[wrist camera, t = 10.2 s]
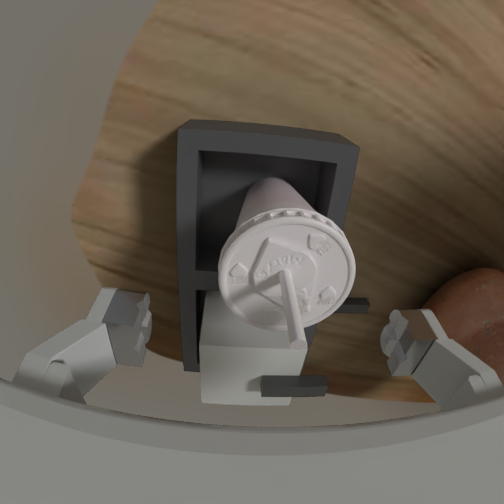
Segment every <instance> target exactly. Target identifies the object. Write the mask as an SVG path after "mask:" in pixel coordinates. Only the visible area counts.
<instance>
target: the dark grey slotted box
mask: <svg viewBox="0 0 504 504" xmlns="http://www.w3.org/2000/svg"><path fill="white" fill-rule="evenodd" d="M359 149H360V147H359V146H357V145H356V144H354V143H352V142H351V141H349V140H348V139H346V138H344V137H343V136H341V135H339V134H336V133H330V132H323V131H316V130H309V129H302V128H294V127H286V126H277V125H268V124H257V123H245V122H232V121H216V120H193V119H190V120H189V121H188V122H186V123H185V124H184V125H182V126H181V127H180V128H178V141H177V192H176V213H177V265H178V290H179V309H180V325H181V340H182V353H183V365H184V371H192V372H200V382H201V383H200V384H201V402H202V403H210V404H226V405H227V404H228V405H254V406H288V405H289V404H290V402H291V399H292V397H315V396H325V393H326V391H327V389H328V387H329V385H328V381H327V377H326V375H301V373H302V370H303V367H304V364H305V361H306V358H307V355H308V352H309V349H310V346H311V342H312V339H313V336H314V333H315V329H316V326H317V323H316V324H313V325H311V326H308V327H305V328H304V332H305V337H306V341H307V346H306V348H304V349H303V350H300V351H295V350H292V349H291V346H290V340H289V334H288V331H272V330H266V329H261V328H258V327H255V326H253V325H250V324H248V323H246V322H244V321H243V320H241V319H240V318H238V317H237V316H236V315H235V314H234V313H233V312H232V311H231V310H230V309H229V308H228V306H227V305H226V303H225V302H224V300H223V298H222V295H221V293H220V289H219V282H218V276H219V272H218V263H219V259H220V254H221V250H222V248H223V247H224V245H225V243H226V241H227V240H228V238H229V236H230V235H231V234H232V233H233V232H234V231H235V228H236V225H237V222H238V218H239V215H240V212H241V209H242V206H243V203H244V200H245V197H246V194H247V192H248V190H249V188H250V187H251V186H252V185H253V184H254V183H255V182H257V181H258V180H260V179H263V178H267V177H277V178H281V179H283V180H285V181H287V182H288V183H289V184H290V185H291V186H292V187H293V188H294V189H295V190H296V191H297V192H298V193H299V194H300V195H301V196H302V197H303V198H304V199H305V201H306V202H307V203H308V204H309V205H310V206H311V207H312V208H313V209H314V210H315V211H316V212H318V213H319V214H321V215H323V216H325V217H327V218H328V219H330V220H332V221H333V222H334V223H335V224H336V225H337V226H338V227H339V228H340V229H341V230H342V229H343V225H344V221H345V217H346V212H347V208H348V203H349V199H350V194H351V190H352V185H353V180H354V175H355V170H356V165H357V160H358V155H359ZM369 306H370V304H369V302H368V300H367V298H346V299H345V301H344V302H343V303H342V304H341V306H340V307H339V308H338V309H337V310H336V311H334V312H333V313H367V311H368V308H369Z"/></svg>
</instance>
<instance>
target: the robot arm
mask: <svg viewBox="0 0 504 504" xmlns="http://www.w3.org/2000/svg"><path fill="white" fill-rule="evenodd" d="M149 305H150V297H149V294H148V292H141V291H134V290H127V289H120V288H119V289H118V288H112V287H103V288H102V289H101V290H100V292H99V294H98V296H97V298H96V300H95V302H94V303H93V305H92V307H91V309H90V312H89V313H88V315H87V317H86V319H85V320H84V319H81V320H79V321H77V322H76V323H74V324H72V325H71V326H69V327H67V328H66V329H64V330H63V331H61V332H60V333H58V334H56V335H55V336H53V337H51V338H50V339H48V340H46V341H45V342H43V343H42V344H40V345H38V346H37V347H35V348H34V349H32V350H31V351H29V352H27V354H26V355H25V357H24V359H23V361H22V363H21V365H20V367H19V369H18V370H17V372H16V374H15V377H14V378H13V380H12V382H10V381H7V380H4V379H2V378H0V504H504V387H503V385H502V383H501V381H500V379H499V378H498V376H497V374H496V372H495V370H493V369H492V368H491V367H489V366H488V365H487V364H485V363H484V362H483V361H481V360H480V359H479V358H477V357H476V356H475V355H473V354H472V353H470V352H469V351H468V350H466V349H465V348H464V347H462V346H461V345H460V344H458V343H457V342H455V341H454V340H453V339H449V338H448V337H447V335H446V333H445V332H444V330H443V328H442V327H441V325H440V323H439V322H438V320H437V318H436V317H435V315H434V313H433V312H432V311H431V310H430V309H394V310H393V311H392V312H391V314H390V316H389V320H390V323H389V324H387V325H386V326H385V327H384V329H383V331H382V333H381V338H380V344H381V349H382V351H383V353H384V354H385V355H387V356H388V360H387V364H388V367H389V369H390V372H391V375H392V376H404V375H412V377H413V378H414V379H415V380H416V381H417V383H418V384H419V385H420V386H421V387H422V388H423V389H424V390H425V391H426V392H427V393H428V394H429V395H430V396H431V397H432V398H433V399H434V400H435V401H436V402H437V403H438V404H439V405H440V407H441V408H442V409H441V410H440V411H437V412H432V413H426V414H421V415H415V416H409V417H403V418H396V419H390V420H383V421H375V422H366V423H356V424H345V425H330V426H310V427H247V426H246V427H245V426H227V425H213V424H200V423H190V422H182V421H173V420H166V419H159V418H152V417H146V416H140V415H133V414H128V413H123V412H118V411H113V410H108V409H104V408H99V407H95V406H90V405H87V404H86V402H85V400H84V398H83V396H84V395H85V394H86V393H87V392H88V391H89V390H90V389H92V388H93V387H94V386H95V385H96V384H97V383H98V382H99V381H100V380H101V379H102V378H103V377H104V376H106V375H107V374H108V373H109V372H110V371H111V370H112V369H113V368H114V367H115V366H116V364H122V365H129V366H137V367H142V364H143V361H144V357H145V354H146V348H145V344H146V343H147V342H148V341H149V339H150V335H151V328H152V315H151V312H150V311H149V310H148V308H149Z"/></svg>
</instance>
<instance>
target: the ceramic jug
mask: <svg viewBox="0 0 504 504" xmlns="http://www.w3.org/2000/svg"><path fill="white" fill-rule="evenodd" d="M421 309H430V310H431V311H432V312H433V313H434V315H435V317H436V318H437V320H438V322H439V323H440V325H441V327H442V328H443V330H444V332H445V333H446V335H447V337H448V338H449V339H453V340H454V341H455V342H457V343H458V344H460V345H461V346H462V347H464V348H465V349H466V350H468V351H469V352H470V353H472V354H473V355H475V356H476V357H477V358H479V359H480V360H481V361H483V362H484V363H485V364H487V365H488V366H489V367H491V368H492V369H493V370H495V372H496V374H497V376H498V378H499V379H500V381H501V383H502V385H503V387H504V273H503V272H501V271H500V270H497V269H494V268H487V267H483V268H476V269H473V270H470V271H467V272H464V273H461V274H459V275H457V276H455V277H454V278H452V279H451V280H449V281H448V282H446V283H445V284H444V285H442V286H441V287H440V288H439V289H438V290H437V291H436V292H435V293H434V294H433V295H432V296H431V297H430V298H429V299H428V300H427V301H426V303H425V304H424V305H423V306H422V308H421Z"/></svg>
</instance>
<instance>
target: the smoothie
mask: <svg viewBox="0 0 504 504" xmlns="http://www.w3.org/2000/svg"><path fill="white" fill-rule="evenodd" d="M218 272H219V276H218V282H219V289H220V293H221V295H222V298H223V300H224V302H225V303H226V305H227V306H228V308H229V309H230V310H231V311H232V312H233V313H234V314H235V315H236V316H237V317H238V318H240V319H241V320H243V321H244V322H246V323H248V324H250V325H253V326H255V327H258V328H261V329H266V330H272V331H288V334H289V340H290V346H291V349H292V350H295V351H300V350H303V349H304V348H306V346H307V341H306V337H305V332H304V328H305V327H308V326H311V325H313V324H316V323H318V322H320V321H322V320H323V319H325V318H327V317H328V316H329V315H331V314H332V313H333V312H334V311H336V310H337V309H338V308H339V307H340V306H341V304H342V303H343V302H344V301H345V299H346V298H347V296H348V295H349V293H350V291H351V288H352V286H353V283H354V279H355V272H356V266H355V259H354V255H353V252H352V250H351V248H350V245H349V243H348V241H347V239H346V237H345V235H344V233H343V231H342V230H341V229H340V228H339V227H338V226H337V225H336V224H335V223H334V222H333V221H332V220H330V219H328V218H327V217H325V216H323V215H321V214H319V213H318V212H316V211H315V210H314V209H313V208H312V207H311V206H310V205H309V204H308V203H307V202H306V201H305V199H304V198H303V197H302V196H301V195H300V194H299V193H298V192H297V191H296V190H295V189H294V188H293V187H292V186H291V185H290V184H289V183H288V182H287V181H285V180H283V179H281V178H277V177H267V178H263V179H260V180H258V181H257V182H255V183H254V184H253V185H252V186H251V187H250V188H249V190H248V192H247V194H246V197H245V200H244V203H243V206H242V209H241V212H240V215H239V218H238V222H237V225H236V228H235V231H234V232H233V233H232V234H231V235H230V236H229V238H228V240H227V241H226V243H225V245H224V247H223V248H222V250H221V254H220V259H219V263H218Z"/></svg>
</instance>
